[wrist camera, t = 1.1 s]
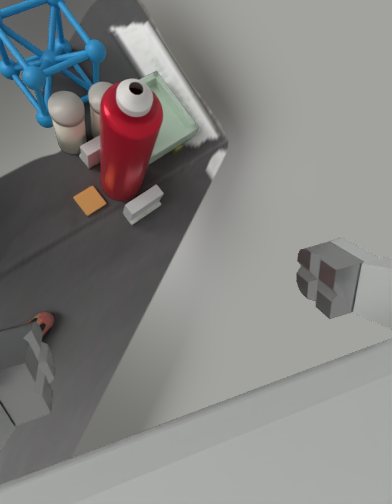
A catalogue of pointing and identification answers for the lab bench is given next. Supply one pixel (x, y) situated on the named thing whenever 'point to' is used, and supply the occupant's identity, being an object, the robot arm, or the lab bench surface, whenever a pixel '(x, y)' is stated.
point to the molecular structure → (47, 57)
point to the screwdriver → (43, 322)
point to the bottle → (127, 136)
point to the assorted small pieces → (74, 138)
